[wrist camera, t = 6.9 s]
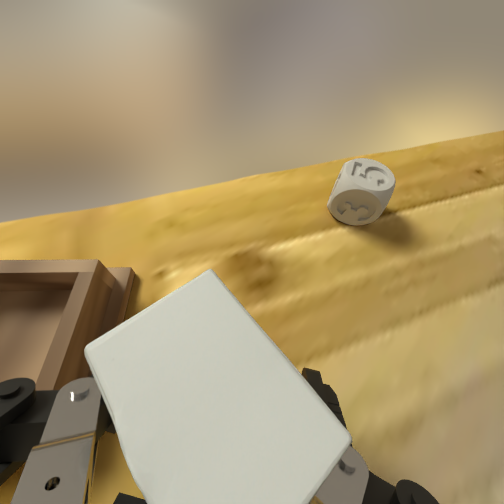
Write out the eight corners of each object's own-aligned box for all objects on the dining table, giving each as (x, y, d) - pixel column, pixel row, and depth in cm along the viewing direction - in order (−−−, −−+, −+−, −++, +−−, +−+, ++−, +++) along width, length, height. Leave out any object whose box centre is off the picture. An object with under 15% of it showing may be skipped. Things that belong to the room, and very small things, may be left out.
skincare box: (280, 419, 15) (366, 446, 5) (226, 477, 14) (205, 675, 4) (224, 343, 18) (211, 261, 8) (173, 384, 16) (70, 349, 6)
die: (332, 188, 29) (349, 152, 25) (373, 201, 28) (397, 166, 24) (322, 216, 26) (339, 181, 22) (367, 232, 26) (394, 198, 21)
